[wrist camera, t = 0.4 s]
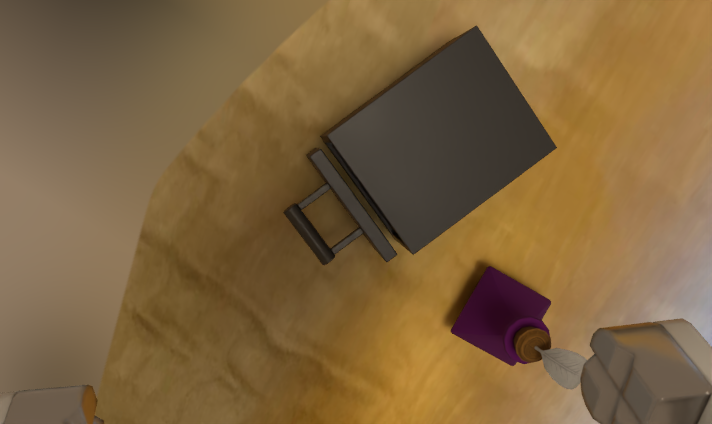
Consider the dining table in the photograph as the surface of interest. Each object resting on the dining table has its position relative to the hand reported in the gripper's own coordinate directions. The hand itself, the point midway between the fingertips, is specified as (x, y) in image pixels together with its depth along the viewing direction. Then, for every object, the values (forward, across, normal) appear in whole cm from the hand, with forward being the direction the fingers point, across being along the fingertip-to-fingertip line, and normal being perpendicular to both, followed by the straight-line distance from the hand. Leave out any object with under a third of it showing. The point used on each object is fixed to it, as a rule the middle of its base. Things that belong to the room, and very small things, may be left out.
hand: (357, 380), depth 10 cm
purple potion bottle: (+39, +21, -36) cm, 57 cm away
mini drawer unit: (+47, +15, -21) cm, 54 cm away
